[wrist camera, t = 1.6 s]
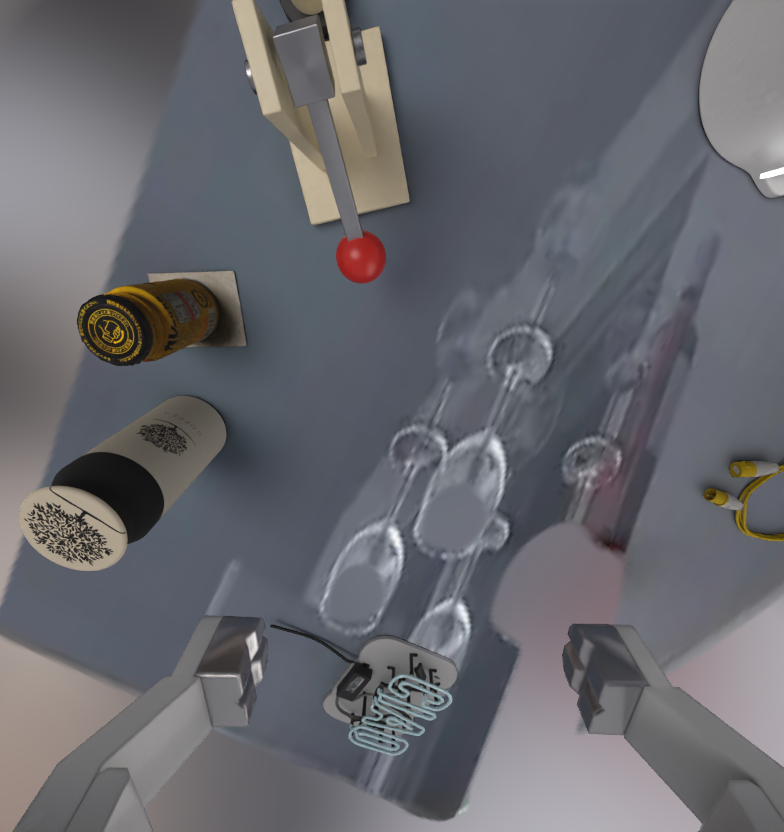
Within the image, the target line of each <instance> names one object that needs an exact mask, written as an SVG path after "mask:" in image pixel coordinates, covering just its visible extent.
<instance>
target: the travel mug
mask: <svg viewBox="0 0 784 832" xmlns="http://www.w3.org/2000/svg"><path fill="white" fill-rule="evenodd" d="M225 441H226V428H225V424H224V422H223V420H222V418H221V416H220V415H219V414H218V412H217V411H216V410H215V409H214V408H213V407H212V406H210V405H209V404H208V403H206V402H204V401H202V400H200V399H198V398H195V397H190V396H177V397H173V398H170V399H168V400H166V401H165V402H163V403H162V404H160V405H159V406H157V407H156V408H154V409H153V410H151V411H150V412H148V413H146V414H145V415H143V416H142V417H140V418H139V419H137V420H136V421H134V422H133V423H131V424H130V425H128V426H127V427H125V428H124V429H122V430H121V431H119V432H117V433H116V434H114V435H113V436H111V437H110V438H108V439H107V440H105V441H104V442H102V443H101V444H99V445H98V446H96V447H95V448H93V449H92V450H90V451H88V452H87V453H85V454H84V455H82V456H81V457H79V458H78V459H76V460H75V461H73V462H72V463H70V464H69V465H67V466H66V467H64V468H63V469H61V470H60V471H59V472H58V473H57V474H56V476H55V477H54V480H53V482H52V485H51V486H49V487H44V488H41V489H38V490H36V491H34V492H32V493H31V494H30V495H29V496H27V497H26V498H25V500H24V501H23V503H22V505H21V507H20V511H19V523H20V527H21V529H22V532H23V534H24V536H25V537H26V539H27V540H28V542H29V543H30V544H31V545H32V546H33V547H34V548H35V549H36V550H37V551H38V552H39V553H40V554H42V555H43V556H45V557H46V558H48V559H49V560H51V561H53V562H55V563H57V564H59V565H62V566H64V567H67V568H71V569H75V570H82V571H95V570H101V569H105V568H107V567H110V566H112V565H113V564H115V563H116V562H117V561H119V560H120V559H121V557H122V556H123V555H124V553H125V551H126V548H127V544H130V543H133V542H135V541H138V540H139V539H141V538H143V537H144V536H145V535H146V534H147V533H148V532H149V531H150V530H151V529H152V527H153V526H154V525H155V524H156V523H157V522H158V521H159V519H160V518H161V517H162V516H163V515H164V514H165V513H166V512H167V510H168V509H169V508H170V507H171V506H172V505H173V504H174V503H175V501H176V500H177V499H178V498H179V497H180V496H181V495H182V493H183V492H184V491H185V490H186V489H187V488H188V487H189V486H190V484H191V483H192V482H193V481H194V480H195V479H196V478H197V477H198V475H199V474H200V473H201V472H202V471H203V470H204V469H205V467H206V466H207V465H208V464H209V463H210V462H211V461H212V460H213V458H214V457H215V456H216V455H217V454H218V453H219V452H220V450H221V449H222V448H223V446H224V444H225Z"/></svg>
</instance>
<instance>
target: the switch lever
mask: <svg viewBox="0 0 784 832" xmlns="http://www.w3.org/2000/svg"><path fill="white" fill-rule="evenodd" d="M273 41H274V44H275V47H276V51H277V54H278V57H279V60H280V63H281V66H282V69H283V72H284V75H285V79H286V82H287V85H288V88H289V91H290V94H291V97H292V100H293V103H294V106H295V108H297V107H301V106H305V105H307V108H308V111H309V114H310V118H311V121H312V124H313V128H314V131H315V134H316V138H317V141H318V144H319V148H320V151H321V154H322V158H323V161H324V164H325V168H326V171H327V174H328V178H329V181H330V184H331V188H332V191H333V194H334V198H335V201H336V204H337V208H338V211H339V214H340V218H341V221H342V224H343V228H344V231H345V234H346V235H345V236H344V237H343V238H342V240H341V241H340V243H339V245H338V247H337V252H336V260H337V265H338V267H339V269H340V271H341V273H342V274H343V275H344V276H345V277H346V278H347V279H349V280H350V281H352V282H355V283H368V282H371V281H373V280H375V279H376V278H377V277H378V276H379V275H380V274H381V272H382V271H383V269H384V266H385V262H386V253H385V249H384V246H383V244H382V242H381V241H380V240H379V238H378V237H377V236H375V235H374V234H373V233H371V232H368V231H365V230H362V227H361V223H360V219H359V216H358V212H357V208H356V204H355V200H354V197H353V193H352V189H351V185H350V181H349V177H348V174H347V170H346V166H345V162H344V158H343V155H342V151H341V147H340V143H339V139H338V136H337V132H336V128H335V124H334V120H333V116H332V113H331V109H330V105H329V101H328V99H330V98H334V97H335V80H334V76H333V72H332V68H331V64H330V60H329V56H328V52H327V47H326V43H325V39H324V35H323V31H322V27H321V23H320V19H319V16H318V15H314V16H310V17H307V18H304V19H300V20H297V21H293V22H290V23H287V24H283V25H280V26H277V28H276V30H275V32H274V35H273Z"/></svg>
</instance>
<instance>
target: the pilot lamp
mask: <svg viewBox="0 0 784 832" xmlns="http://www.w3.org/2000/svg"><path fill="white" fill-rule="evenodd" d="M280 3H281V5H282V8H283V10H284V12H285V14H286V16H287V18H288V20H289V22H293V21H297V20H300V19H304V18H307V17H310V16H314V15H318V16H319V19H320V23H321V27H322V31H323V35H324V39H326V38H328V37H329V34H328V30H327V25H326V20H325V16H324V11H323V6H322V1H321V0H280ZM345 4H346V0H345Z"/></svg>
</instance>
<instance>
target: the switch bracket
mask: <svg viewBox="0 0 784 832" xmlns="http://www.w3.org/2000/svg"><path fill="white" fill-rule="evenodd" d="M321 1H322V6H323V11H324V16H325V20H326V25H327V30H328V34H329V39H330V40H329V41H326V42H325V43H326V47H327V52H328V56H329V60H330V64H331V68H332V72H333V76H334V80H335V97H334V98H330V99H328V101H329V105H330V109H331V113H332V116H333V120H334V124H335V128H336V132H337V136H338V139H339V143H340V147H341V151H342V155H343V158H344V162H345V166H346V170H347V174H348V177H349V181H350V185H351V189H352V193H353V197H354V200H355V204H356V208H357V212H358V215H359V214H363V213H368V212H372V211H376V210H380V209H384V208H388V207H392V206H396V205H400V204H404V203H409V201H410V199H409V193H408V187H407V181H406V176H405V170H404V164H403V158H402V153H401V147H400V141H399V135H398V130H397V124H396V118H395V112H394V107H393V101H392V95H391V89H390V84H389V78H388V72H387V66H386V61H385V55H384V49H383V43H382V38H381V32H380V27H379V26H377V27H374V28H370V29H367V30H364V31H361V29H360V27H357V28H354V29H351V26H350V22H349V17H348V13H347V8H346V4H345V0H321ZM232 6H233V9H234V13H235V16H236V20H237V24H238V27H239V31H240V34H241V38H242V41H243V45H244V49H245V52H246V56H247V59H248V60H245V61H244V65H245V70H246V74H247V77H248V80H249V83H250V85H251V88H252V90H253V91H254V93H255V94H256V95H258V98H259V102H260V106H261V109H262V113H263V115H264V116H265V117H266V118H267V119H268V120H269V121H270V122H271V123H272V124H273V125H274V126H275V127H276V128H277V129H278V130H279V131H280V132H281V133H282V134H283V135H284V136H285V137H286V138H288V139H289V142H290V146H291V150H292V154H293V157H294V161H295V165H296V169H297V172H298V176H299V180H300V184H301V188H302V191H303V195H304V199H305V203H306V206H307V210H308V214H309V218H310V222H311V224H312V225H318V224H322V223H327V222H331V221H335V220H339V219H341V218H340V214H339V211H338V208H337V204H336V201H335V198H334V194H333V191H332V188H331V184H330V181H329V178H328V174H327V171H326V168H325V164H324V161H323V158H322V154H321V151H320V148H319V144H318V141H317V138H316V134H315V131H314V128H313V124H312V121H311V118H310V114H309V111H308V108H307V105H305V106H301V107H297V108H295V106H294V103H293V100H292V97H291V94H290V91H289V88H288V85H287V82H286V79H285V75H284V72H283V69H282V66H281V63H280V60H279V57H278V54H277V51H276V47H275V44H274V41H273V35H274V33H273V31H272V29H271V27H270V26H269V24H268V22H267V21H266V19H265V17H264V16H263V14H262V12H261V10H260V9H259V7H258V5H257V4H256V2H255V0H233V1H232Z"/></svg>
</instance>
